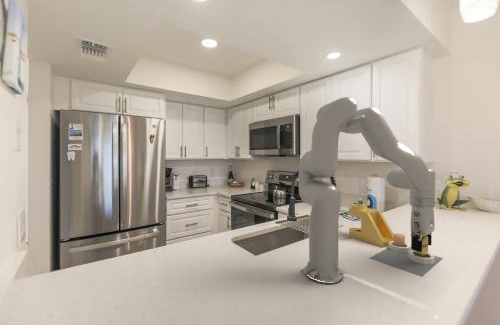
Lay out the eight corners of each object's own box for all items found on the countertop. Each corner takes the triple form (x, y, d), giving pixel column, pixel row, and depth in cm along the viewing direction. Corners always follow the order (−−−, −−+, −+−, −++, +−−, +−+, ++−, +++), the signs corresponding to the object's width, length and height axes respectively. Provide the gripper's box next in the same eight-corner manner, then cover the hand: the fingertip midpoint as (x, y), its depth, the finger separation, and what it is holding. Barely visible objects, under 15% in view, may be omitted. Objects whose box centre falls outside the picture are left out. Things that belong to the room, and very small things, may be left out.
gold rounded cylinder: (425, 263, 84) (426, 234, 83) (412, 259, 87) (413, 231, 87) (429, 260, 86) (429, 232, 86) (416, 256, 89) (417, 229, 89)
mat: (421, 280, 75) (422, 276, 75) (368, 261, 88) (369, 258, 88) (443, 261, 88) (443, 258, 88) (394, 247, 101) (394, 244, 101)
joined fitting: (405, 254, 91) (405, 239, 91) (385, 248, 97) (385, 234, 97) (412, 250, 95) (413, 235, 95) (393, 244, 101) (393, 231, 101)
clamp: (344, 236, 116) (344, 204, 116) (357, 233, 120) (357, 202, 120) (382, 250, 98) (383, 213, 98) (396, 246, 102) (396, 210, 102)
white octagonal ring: (429, 266, 81) (430, 260, 81) (406, 258, 87) (406, 253, 87) (436, 260, 86) (436, 255, 86) (413, 253, 92) (413, 248, 92)
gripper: (425, 206, 78) (425, 257, 78) (442, 200, 88) (441, 245, 88) (401, 203, 84) (400, 249, 84) (418, 197, 94) (418, 239, 94)
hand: (421, 247), depth 86 cm, fingers open, 9 cm apart
